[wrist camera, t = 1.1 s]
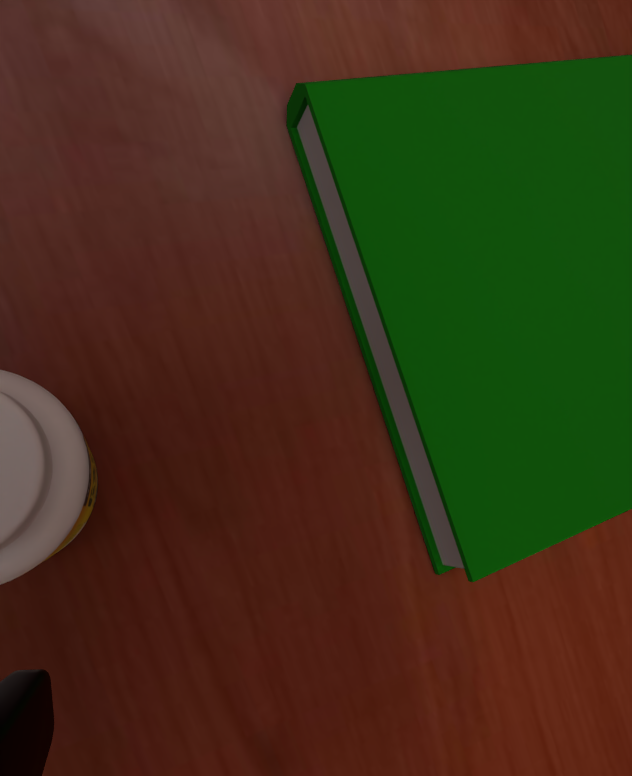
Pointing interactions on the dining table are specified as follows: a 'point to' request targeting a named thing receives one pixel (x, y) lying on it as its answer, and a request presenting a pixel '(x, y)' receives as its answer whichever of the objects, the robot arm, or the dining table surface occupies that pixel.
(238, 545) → the dining table surface
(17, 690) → the robot arm
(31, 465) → the supplement bottle
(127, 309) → the dining table surface
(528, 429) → the book
